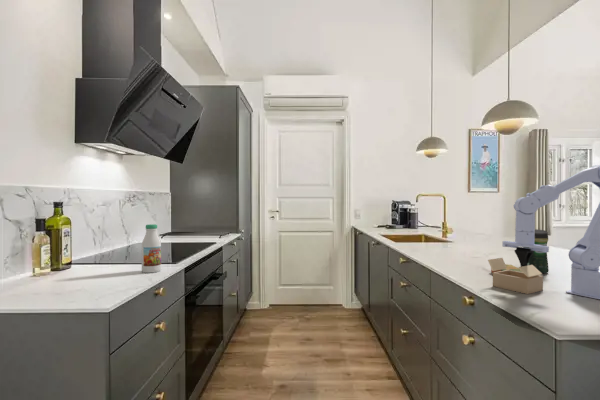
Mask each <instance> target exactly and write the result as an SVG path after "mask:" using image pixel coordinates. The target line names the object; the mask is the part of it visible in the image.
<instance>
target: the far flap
mask: <svg viewBox="0 0 600 400" xmlns="http://www.w3.org/2000/svg"><path fill="white" fill-rule="evenodd" d="M487 261H488V264H489V266H490V270H491V269H492V271H496V270H502V269H507V267H506V265H505V264H506V263H505V261H504V258H503V257H498V258H492V259H491V258H489V259H487Z"/></svg>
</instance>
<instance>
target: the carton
mask: <svg viewBox="0 0 600 400" xmlns="http://www.w3.org/2000/svg"><path fill="white" fill-rule="evenodd" d="M505 265H506V267H507V269H502V270H496V271H492V269H491V268H490V270H491V271H490V272H491V274H493V272H499V271H505V270H512V271H518V272H522V271H521V270H520V269H519V267H517V266H515V265H512V264H509V263H505Z"/></svg>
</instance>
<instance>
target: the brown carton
mask: <svg viewBox="0 0 600 400" xmlns="http://www.w3.org/2000/svg"><path fill="white" fill-rule="evenodd" d="M492 287H494V288H498V289H503V290H506V291H507V290H508V291H511V292H515V291H516V293H520V292H521V293H522V294H524V293H525V295H530V294H534V293H538V292H543V290H544V276H543V275H538V276H533V277H527V276H526V275H525V274H524V273H523V272H518V271H512V270H505V271H499V272H493V273H492Z"/></svg>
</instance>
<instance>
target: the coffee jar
mask: <svg viewBox="0 0 600 400" xmlns="http://www.w3.org/2000/svg"><path fill="white" fill-rule="evenodd" d="M548 241H549V234H548V231H547V230H544V229H536V228H535V238H534V244H537V245H543V246H548ZM524 248H529V247H524ZM532 249H533V248H532ZM533 251H534V250H533ZM548 259H549V258H548V252H541V251H534V253H533V254H532V256H531V257H530V259H529V261H528V264H527V266H528V265H533V266H534V267H535V268H536V269H538V270H539V271H540V272H541V273H542V274H548V273H549V262H548V261H549V260H548Z"/></svg>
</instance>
